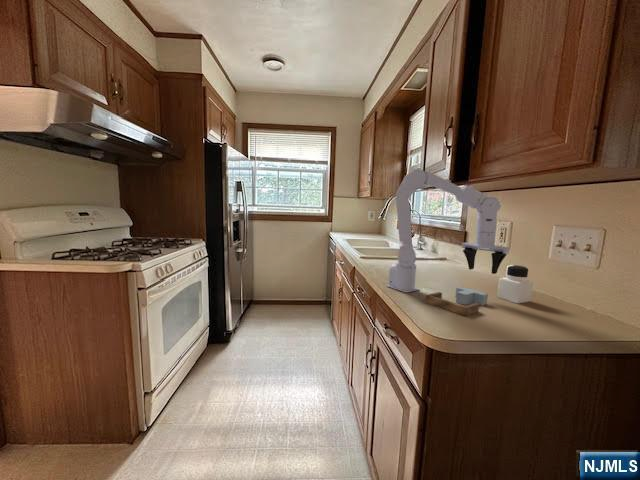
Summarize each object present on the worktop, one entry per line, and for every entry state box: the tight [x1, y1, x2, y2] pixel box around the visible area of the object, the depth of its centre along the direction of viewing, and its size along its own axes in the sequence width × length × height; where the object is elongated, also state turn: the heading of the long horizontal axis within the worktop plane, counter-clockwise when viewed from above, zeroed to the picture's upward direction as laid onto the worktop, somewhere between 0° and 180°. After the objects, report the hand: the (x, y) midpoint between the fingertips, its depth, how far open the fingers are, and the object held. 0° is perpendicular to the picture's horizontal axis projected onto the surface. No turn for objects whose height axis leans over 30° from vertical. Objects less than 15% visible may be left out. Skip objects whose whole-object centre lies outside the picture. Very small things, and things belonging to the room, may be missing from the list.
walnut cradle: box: [425, 291, 480, 317], centre depth 86 cm, size 13×7×2 cm, turn 34°
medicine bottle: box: [496, 264, 534, 304], centre depth 95 cm, size 7×7×12 cm
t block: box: [455, 286, 489, 306], centre depth 91 cm, size 9×8×4 cm
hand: (482, 271), depth 95 cm, fingers open, 7 cm apart
